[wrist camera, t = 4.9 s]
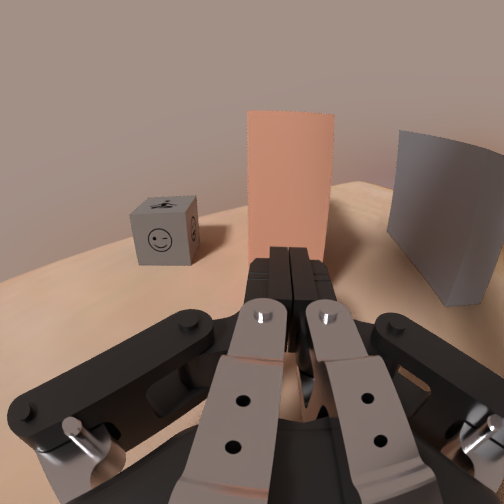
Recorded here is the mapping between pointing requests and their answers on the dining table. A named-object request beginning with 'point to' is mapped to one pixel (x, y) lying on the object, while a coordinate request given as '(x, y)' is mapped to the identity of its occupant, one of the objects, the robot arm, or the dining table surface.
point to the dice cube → (166, 231)
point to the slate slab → (449, 213)
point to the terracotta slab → (289, 181)
